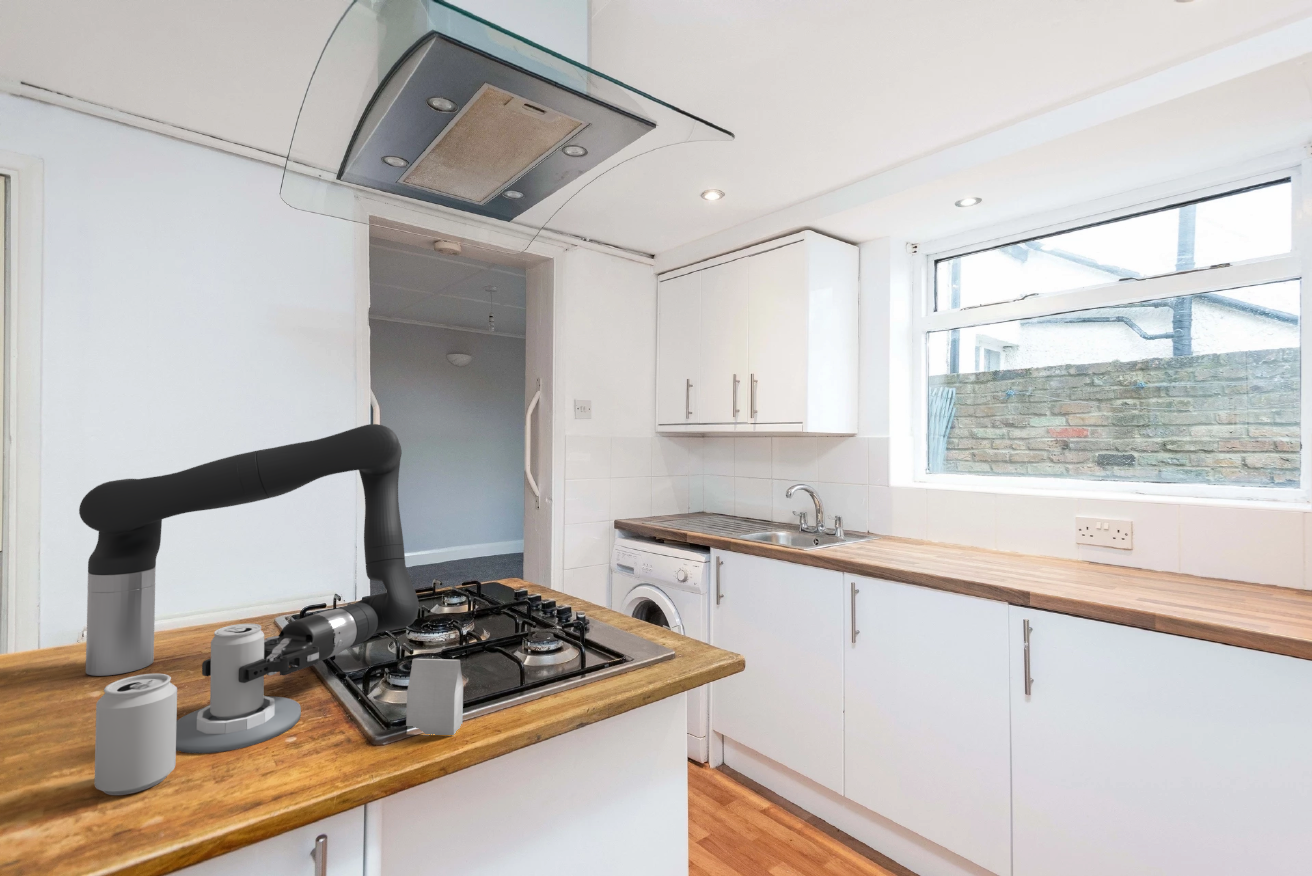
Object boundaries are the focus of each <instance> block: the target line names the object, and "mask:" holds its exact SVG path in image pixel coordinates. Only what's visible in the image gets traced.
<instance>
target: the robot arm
mask: <svg viewBox="0 0 1312 876" xmlns="http://www.w3.org/2000/svg"><path fill="white" fill-rule="evenodd" d="M401 458H402V446H401V444H400V440H399V438H398V436H397V434H396V433H395V432H394V430H393V429H391V428H390V427H388V426H385V425H382V424H377V423H373V424H371V423H370V424H369V423H368V424H365V425H361V426H357V427H355V428H351V429H349V430H345V431H342V432H338V433H336V434H331V435H329V436H325V437H322V438H317V439H313V440H308V441H301V442H296V443H290V444H286V445H281V446H275V447H271V448H270V447H268V448H265V449H258V450H253V451H249V452H243V453H240V454H235V455H231V456H226V457H224V458H223V457H222V458H220V459H216V460H213V461H210V462H207V463H202V464H199V465H196V466H194V467H191V468H190V467H189V468H187V469H183V470H181V471H178V472H173V473H169V474H163V475H159V476H158V475H157V476H151V477H143V478H123V479H115V480H111V481H107V482H103V483H101V484H98V485H96V486H95V487H93V488H92V489H91V490H89V491H88V493H86V494H85V495H84V497H83V499H82V500H81V502H80V504H79V509H78V512H79V513H78V514H79V516H80V519H81V521H82V522H83V523H84V524H85V525H86V526H87V527H89V528H91V529H92V530H95V531H96V532H98V534H97V535H98V536H97V542H96V545H95V547H94V550H93V551H92V553H91V554H90V555H89V558H88V562H87V596H86V597H87V602H86V603H87V604H86V608H87V609H86V641H85V642H86V644H85V646H86V647H85V649H86V650H85V674H87V675H89V676H97V677H98V676H99V677H100V676H101V677H103V676H112V675H113V676H114V675H121V674H125V673H126V674H128V673H130V672H135V671H138V670H141V669H143V668H147V667H148V666H151V665H152V664H153V663H154V660H155V659H154V657H155V655H154V654H155V653H154V652H155V618H156V617H155V615H156V614H155V613H156V612H155V611H156V607H155V606H156V568H157V567H156V565H157V557H158V553H159V551H160V548H161V539H162V522H163V520H164V519H167V518H171V517H174V516H178V515H182V514H186V513H193V512H201V511H208V510H215V509H221V508H228V507H235V506H240V505H245V504H249V503H250V504H251V503H254V502H259V501H265V500H268V499H271V498H276V497H279V496H282V495H286V494H288V493H290V492H293V491H295V490H297V489H300V488H301V487H304V486H306V485H307V484H310V483H312V482H313V481H316V480H318V479H320V478H324V477H327V476H332V475H337V474H342V473H347V472H355V471H359V475H360V479H361V482H362V488H363V494H364V505H365V506H364V509H365V510H364V525H363V527H364V528H363V529H364V531H363V546H364V561H365V572H366V576H367V578H368V579H369V580H370V581H374V582H382V583H383V585H384V588H385V591H386V592H384V593H378V594H374V595H371V596H368V597H365V598H362V599H360V600H358V601H356V602H354V603H351V604H347V605H344V606H342V607H339V608H335V609H329V610H324V611H321V612H318V613H315V614H312V615H308V616H306V617H303V618H299V619H295V620H293V621H289V622H288V623H287V624H285V625H284V627H283V628H282V629H281V631H280V633H279V634H278V635H275V636H269V637H265V638H264V659H261V660H258V661H256V662H253V663H250V664H247V665H244V666H242V667H240V668H239V679H238V680H239V682H241V683H246V682H249V681H251V680H254V679H256V678H259V677H261V676H264V677H265V676H273V675H275V674H277V673H279V675H280V676H287V675H290V674H293V673H295V672H298V671H301V670H304V669H307V668H309V667H312V666H315V665H317V664H319V663H320V662H322V661H324V660H327V659H329V658H331V657H334V656H336V655H339V654H340V653H342V652H343V651H346V650H347V649H349V648H352V647H354V646H357V645H359V644H361V643H364V642H366V641H367V640H369V639H370V638H372V636H373V635H375V634H379V633H382V632H387V631H394V630H399V629H404V628H408V627H410V626H411V625H412V624H414V622H415V621H416V619H417V617H418V613H419V608H420V607H419V606H420V604H419V599H418V595H417V593H416V589H415V588H414V584H413V582H412V579H411V577H410V574H409V572H408V569H407V566H406V558H405V557H406V556H405V546H404V545H405V544H404V536H403V529H402V521H401V514H400V504H399V478H400V467H401ZM201 675H202V676H204V677H211V657H210V658H208V659H205V660H203V662H202V664H201Z"/></svg>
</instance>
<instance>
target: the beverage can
mask: <svg viewBox="0 0 1312 876" xmlns="http://www.w3.org/2000/svg"><path fill="white" fill-rule="evenodd" d="M261 629H262V625H261V624H258V623H238V624H232V625H228V626H224V627H221V628H218V629H216V630H215V631H214V632H213V635H214V636H213V638H212V639H211V641H210V658H211V676H210V687H209V688H210V689H209V690H210V691H209V692H210V697H209V699H210V700H209V702H210V704H209V705H210V713H211V714H212V715H213V716H216V717H217V718H219V719H224V720H230V719H238V718H242V717H246V716H249V715H251V714H253V713H255V712H256V711H257V710H258V708H260V707H261V706H262V705H263V702H264V696H265V695H264V694H265V689H264V687H265V680H264V678H265V675H264V676H261V677H259V678H256V679H254V680H251V681H249V682H246V683H241V682H239V680H238V679H239V668H240V667H242V666H244V665H247V664H250V663H253V662H256V661H258V660H261V659H264V640H265V633H264V632H263V630H261Z"/></svg>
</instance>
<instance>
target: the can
mask: <svg viewBox="0 0 1312 876" xmlns="http://www.w3.org/2000/svg"><path fill="white" fill-rule="evenodd" d="M171 679H172V677H171V676H170V675H168V674H164V673H146V674H145V673H144V674H138V675H134V676H128V677H124V678H121V679H118V680H116V681H114V682H111V683H108V685H106V686H105V687H104V689H103V692H104V694H103V695H102V696H101V697H100V698H99V699H98V700H97V702H96V703H95V704H96V705H95V706H96V708H95V743H94V744H95V745H94V747H95V750H94V751H95V752H94V784H93V785H94V787H95V789H96V790H99V791H101V792H103V793H104V794H106V795H110V796H123V795H129V794H135V793H138V792H142V791H145V790H147V789H150V788H152V787H155V786H157V785H158V784H160V783H161V782H163V781H164V780H165V779H166V778H167V777H168V776H169V774H171V772H172V771H174V770H175V768H176V760H177V759H176V758H177V757H176V756H177V751H176V721H177V720H178V719H177V717H178V716H177V715H178V714H177V713H178V712H177V711H178V708H177V707H178V687H177V686H176V685H174V683H172V682H171Z"/></svg>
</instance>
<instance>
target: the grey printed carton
mask: <svg viewBox="0 0 1312 876" xmlns="http://www.w3.org/2000/svg"><path fill="white" fill-rule="evenodd" d="M411 660H412V662H411V669H410V673H409V681H408V685H407V689H406V690H407V691H406V714H405V715H406V721H405V724H406V725H405V727H406V726H413V727H416V728H419V729H420V730H421V731H423V732H424V733H425V734H430V735H431V734H432V735H433V734H435V735H454V734H455V733H456V731H457V730H458V729H459V730H460V728H461V727H462V726H461V724H462V725H463V712H464V711H463V710H464V708H463V707H464V682H463V681H464V680H463V675H462V666H461V659H444V658H440V659H439V658H413V659H411ZM460 726H461V727H460ZM459 730H458V731H459ZM458 731H457V732H458ZM456 734H457V733H456ZM456 734H455V735H456ZM455 735H454V736H455Z"/></svg>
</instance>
